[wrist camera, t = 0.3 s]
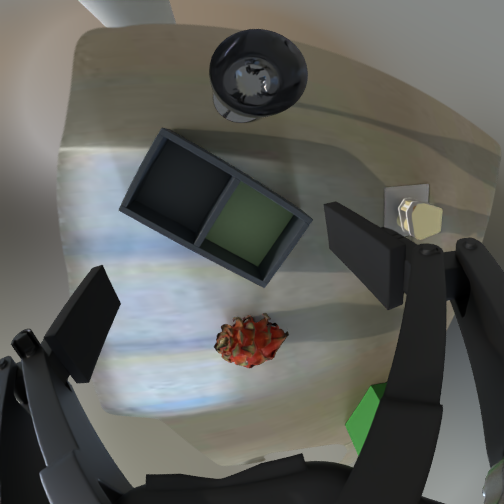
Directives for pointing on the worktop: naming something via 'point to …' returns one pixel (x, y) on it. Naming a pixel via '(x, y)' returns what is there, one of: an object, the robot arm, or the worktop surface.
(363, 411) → the hardback book
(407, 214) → the stacked layers on plate
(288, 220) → the divided tray
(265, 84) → the wine glass
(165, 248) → the worktop surface
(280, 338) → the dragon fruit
